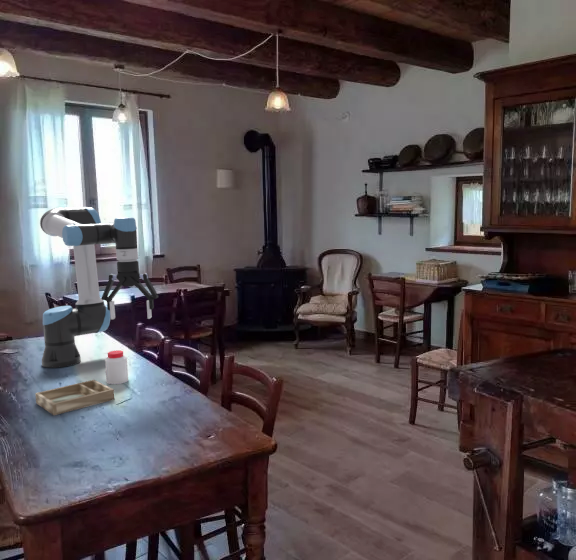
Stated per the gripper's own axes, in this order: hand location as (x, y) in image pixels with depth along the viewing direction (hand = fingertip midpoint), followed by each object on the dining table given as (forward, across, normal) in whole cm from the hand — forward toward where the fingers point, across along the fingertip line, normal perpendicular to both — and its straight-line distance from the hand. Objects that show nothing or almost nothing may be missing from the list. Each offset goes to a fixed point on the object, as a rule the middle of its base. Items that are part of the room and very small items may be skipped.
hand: (131, 318), depth 207 cm
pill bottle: (+24, -7, -1) cm, 25 cm away
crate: (+23, -13, -22) cm, 35 cm away
